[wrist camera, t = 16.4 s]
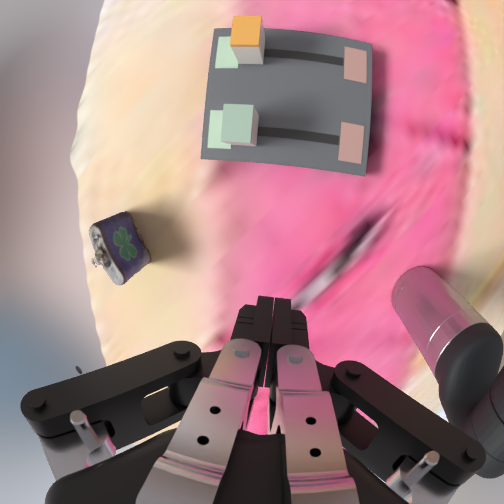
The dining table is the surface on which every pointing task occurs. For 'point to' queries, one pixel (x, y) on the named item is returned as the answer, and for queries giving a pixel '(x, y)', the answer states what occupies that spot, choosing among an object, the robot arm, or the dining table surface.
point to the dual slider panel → (294, 101)
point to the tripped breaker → (248, 39)
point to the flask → (118, 247)
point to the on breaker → (239, 124)
